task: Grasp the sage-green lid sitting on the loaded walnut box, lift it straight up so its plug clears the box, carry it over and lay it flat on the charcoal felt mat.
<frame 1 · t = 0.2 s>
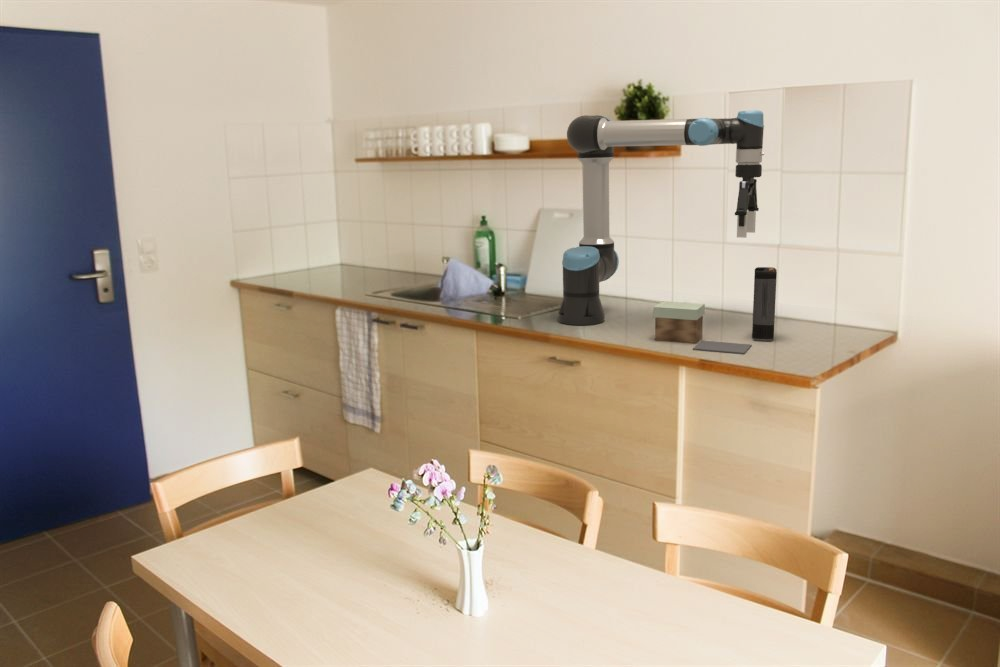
hand: (746, 234, 257), 28 cm above the kitchen counter, fingers open, 13 cm apart
lid: (679, 315, 245), point 7 cm above the kitchen counter, touching crate
mat: (722, 347, 235), on the kitchen counter
crate: (678, 339, 246), on the kitchen counter
electronic device: (762, 338, 245), on the kitchen counter
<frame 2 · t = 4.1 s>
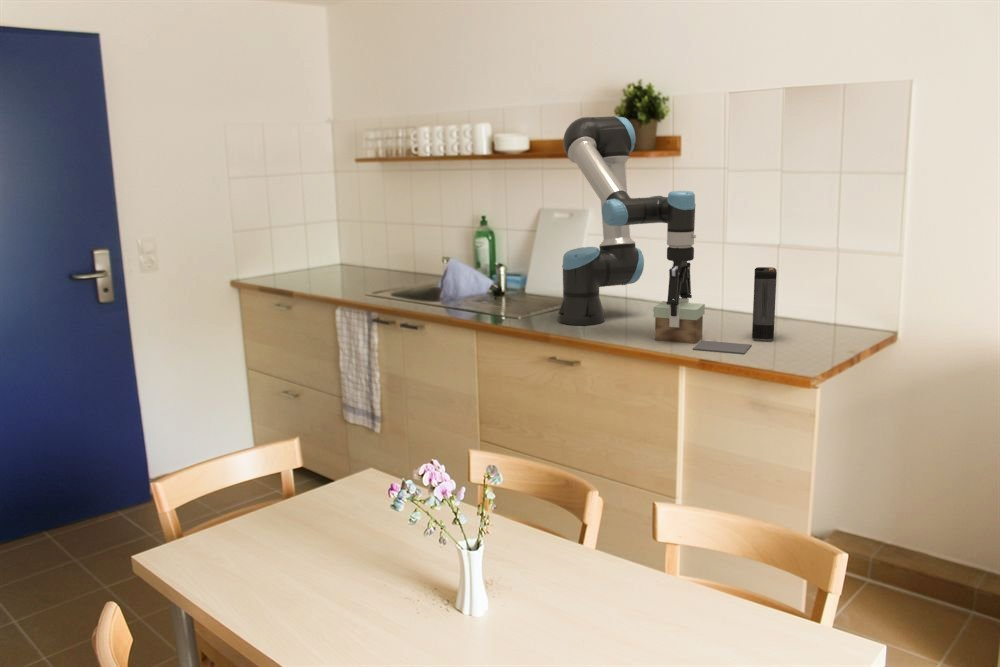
hand: (678, 323, 245), 5 cm above the kitchen counter, fingers closed on lid, 9 cm apart
lid: (679, 315, 245), point 7 cm above the kitchen counter, touching crate, gripper
everything else where it was.
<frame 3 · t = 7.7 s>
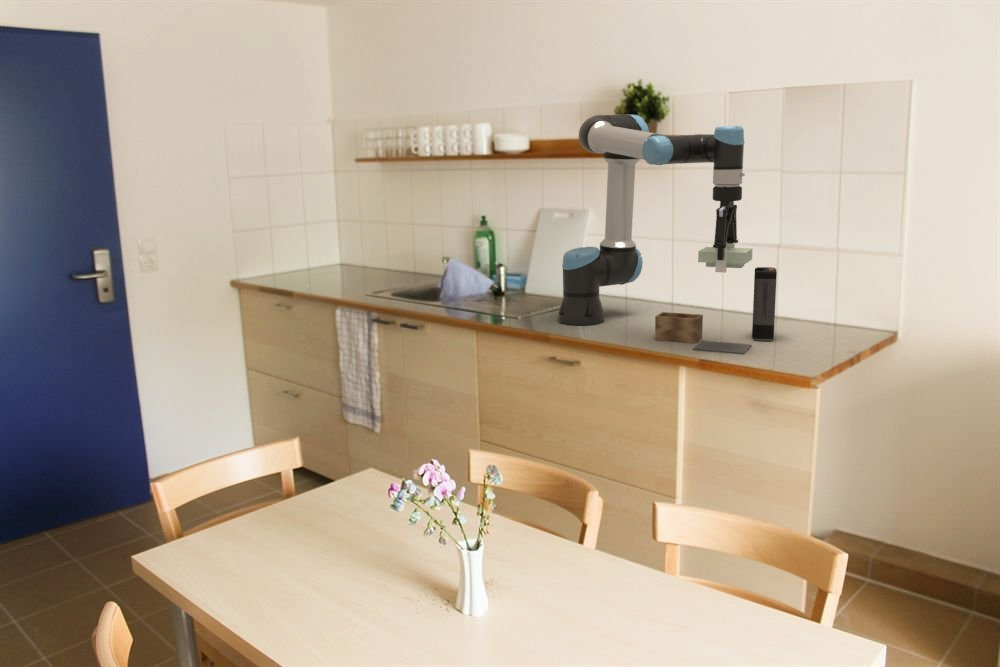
hand: (724, 269, 230), 22 cm above the kitchen counter, fingers closed on lid, 9 cm apart
lid: (725, 260, 229), point 24 cm above the kitchen counter, touching gripper
everything else where it was.
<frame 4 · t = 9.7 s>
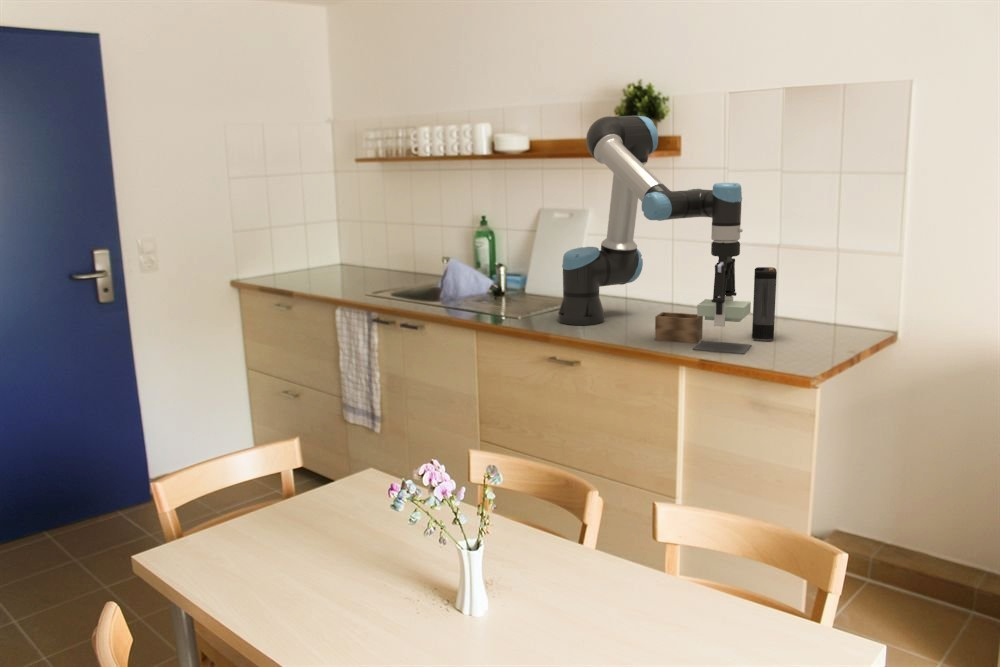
hand: (723, 322, 233), 7 cm above the kitchen counter, fingers closed on lid, 9 cm apart
lid: (723, 314, 232), point 10 cm above the kitchen counter, touching gripper
everything else where it was.
when the fingers open (2 cm above the kitchen counter, at t = 11.5 s): lid drops 3 cm, resting on mat.
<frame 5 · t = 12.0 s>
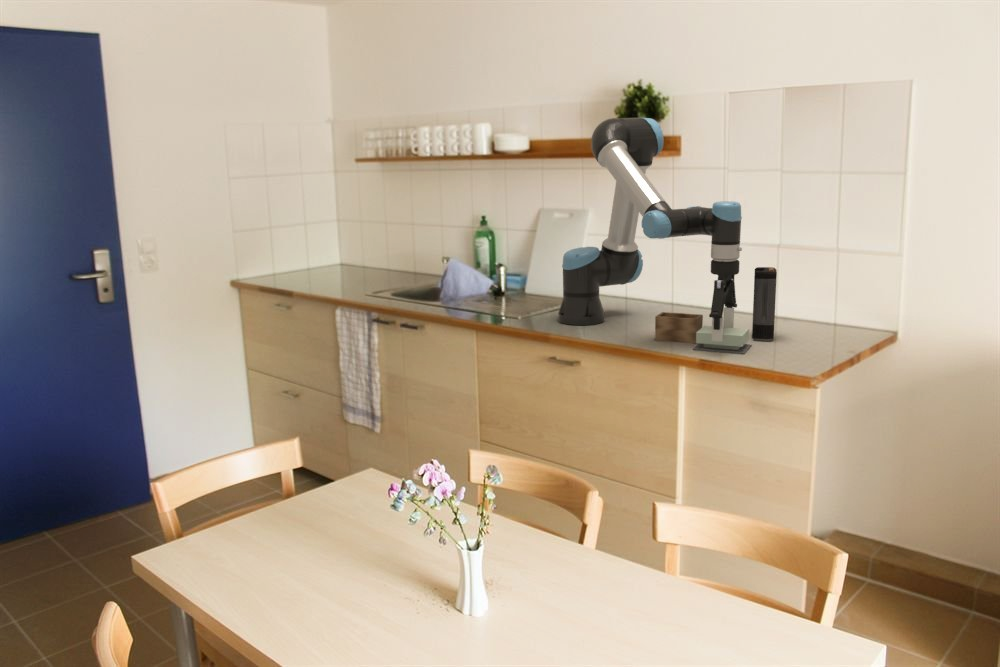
hand: (722, 335, 234), 4 cm above the kitchen counter, fingers open, 13 cm apart
lid: (722, 341, 234), point 2 cm above the kitchen counter, touching mat
everything else where it was.
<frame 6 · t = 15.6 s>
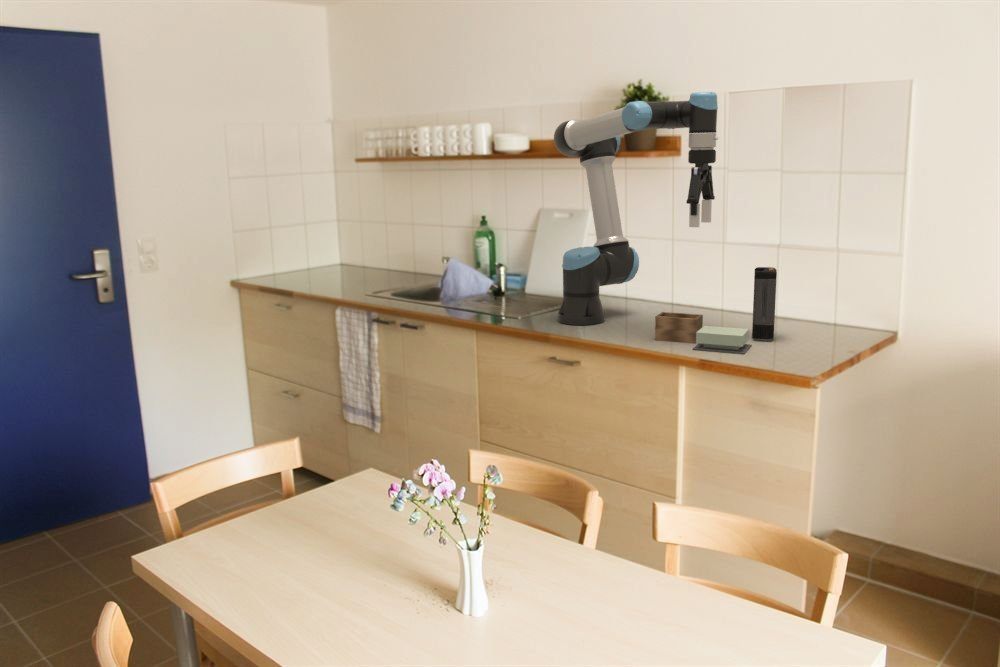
hand: (700, 224, 242), 33 cm above the kitchen counter, fingers open, 13 cm apart
nothing on the kitchen counter moved.
at the end: lid inside the target area on the mat (0.0 cm from its centre), point 1.9 cm above the mat's base; lid tilted 0°; lid touching mat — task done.
